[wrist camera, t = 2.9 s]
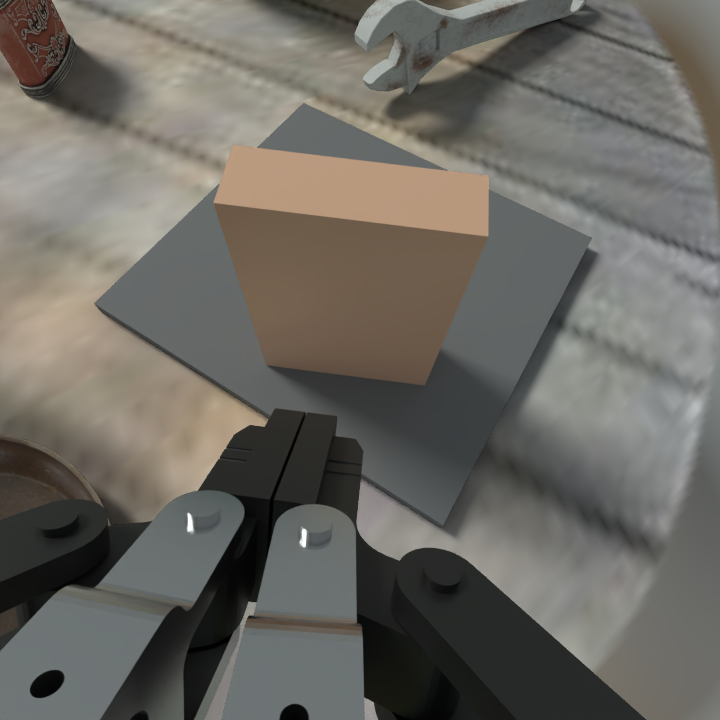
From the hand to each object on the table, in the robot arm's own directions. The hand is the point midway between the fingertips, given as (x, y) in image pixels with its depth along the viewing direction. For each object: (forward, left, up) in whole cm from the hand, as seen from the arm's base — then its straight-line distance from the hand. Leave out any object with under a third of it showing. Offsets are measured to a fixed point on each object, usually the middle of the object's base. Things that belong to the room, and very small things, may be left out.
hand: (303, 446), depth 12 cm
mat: (-7, +15, -17) cm, 24 cm away
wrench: (-12, +44, -17) cm, 49 cm away
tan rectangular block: (-4, +9, -16) cm, 19 cm away
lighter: (-42, +19, -17) cm, 50 cm away
